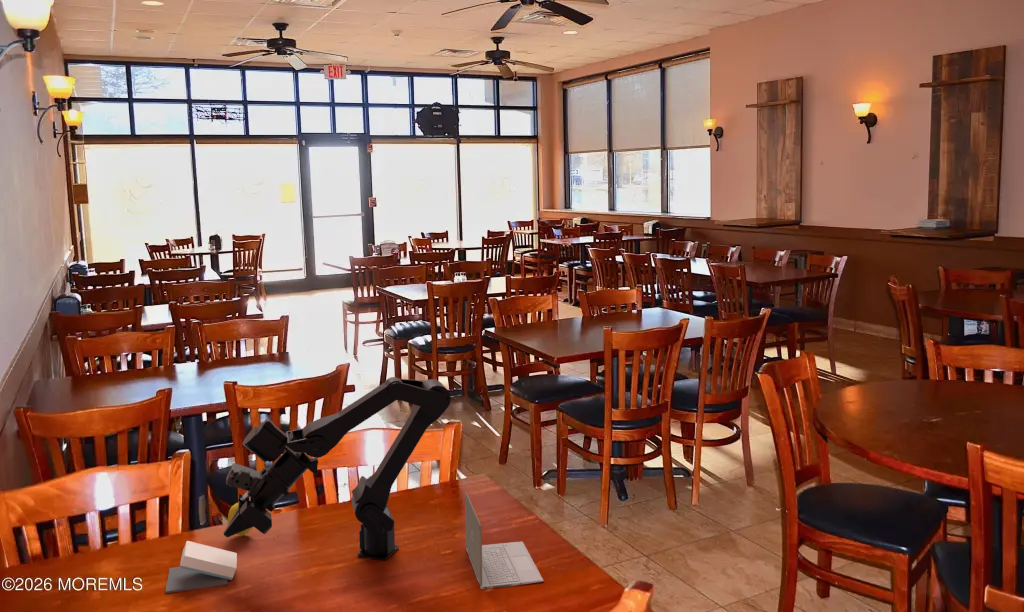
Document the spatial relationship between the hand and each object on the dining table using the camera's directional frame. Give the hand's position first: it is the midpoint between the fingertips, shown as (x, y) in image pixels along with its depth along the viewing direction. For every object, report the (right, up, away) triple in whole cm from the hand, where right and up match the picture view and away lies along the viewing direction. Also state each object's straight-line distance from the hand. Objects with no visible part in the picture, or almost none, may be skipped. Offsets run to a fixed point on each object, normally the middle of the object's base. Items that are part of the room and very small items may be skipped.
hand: (225, 535), depth 161 cm
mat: (-5, -8, -1) cm, 10 cm away
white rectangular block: (+1, -7, +1) cm, 7 cm away
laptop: (+54, -8, +5) cm, 55 cm away
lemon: (-3, -5, +18) cm, 19 cm away
